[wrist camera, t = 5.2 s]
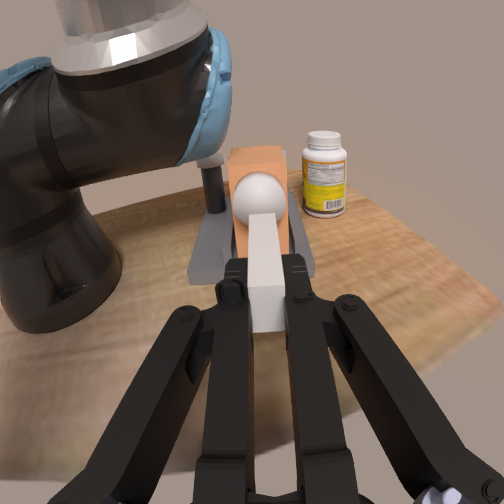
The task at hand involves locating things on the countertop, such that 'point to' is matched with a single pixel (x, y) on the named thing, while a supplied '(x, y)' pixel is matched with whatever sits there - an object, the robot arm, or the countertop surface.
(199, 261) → the mount
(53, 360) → the countertop surface
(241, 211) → the orange rectangular block
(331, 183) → the supplement bottle
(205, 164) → the dial post
